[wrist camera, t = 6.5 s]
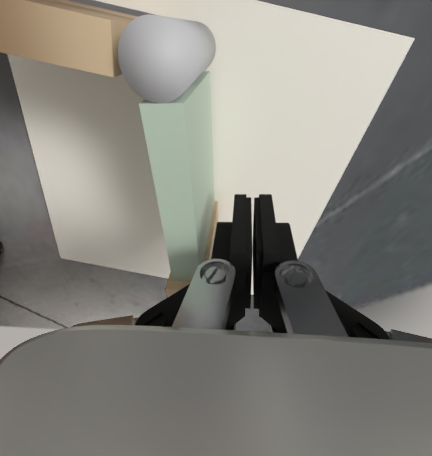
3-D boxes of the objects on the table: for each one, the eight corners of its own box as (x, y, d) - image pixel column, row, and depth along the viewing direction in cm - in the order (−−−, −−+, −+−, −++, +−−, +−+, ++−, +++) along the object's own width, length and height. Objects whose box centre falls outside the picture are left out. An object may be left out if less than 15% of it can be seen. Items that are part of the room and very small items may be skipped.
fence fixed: (12, 26, 12) (-192, 23, 6) (1, -22, 11) (-252, -75, 5) (169, 61, 12) (106, 89, 7) (171, 18, 11) (100, 8, 6)
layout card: (64, 253, 22) (60, 258, 21) (-13, -63, 11) (-26, -68, 10) (275, 293, 22) (276, 299, 22) (407, 37, 11) (415, 38, 11)
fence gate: (172, 22, 11) (99, 14, 5) (215, 20, 11) (184, 11, 5) (192, 221, 17) (168, 312, 12) (219, 221, 17) (208, 315, 11)
